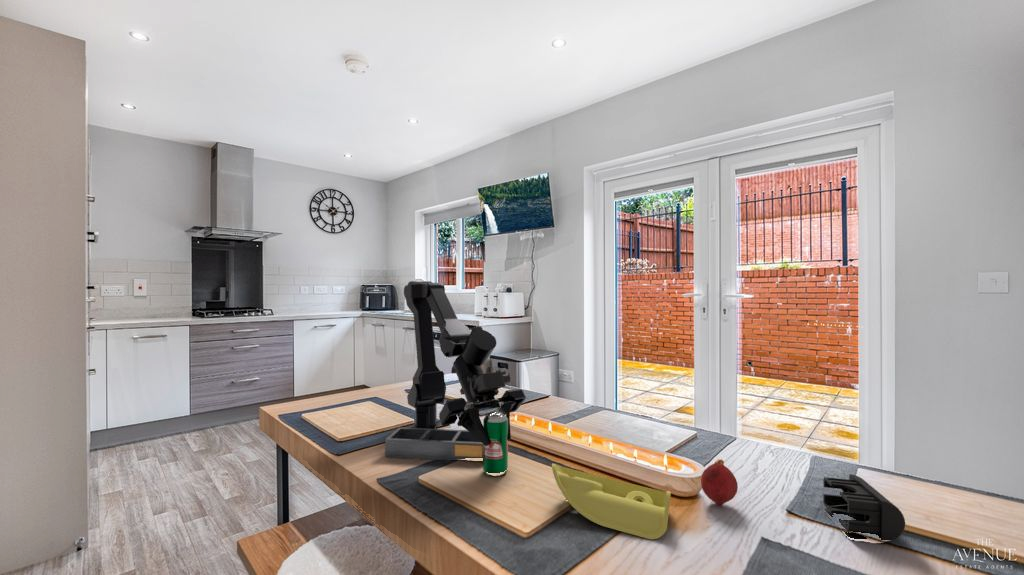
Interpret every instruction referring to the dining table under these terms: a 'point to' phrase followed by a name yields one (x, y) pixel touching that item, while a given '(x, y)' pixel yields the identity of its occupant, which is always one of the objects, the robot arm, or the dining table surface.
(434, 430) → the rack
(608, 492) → the plastic component
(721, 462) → the onion
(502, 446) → the soda can
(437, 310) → the robot arm
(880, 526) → the end cap
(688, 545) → the dining table surface
